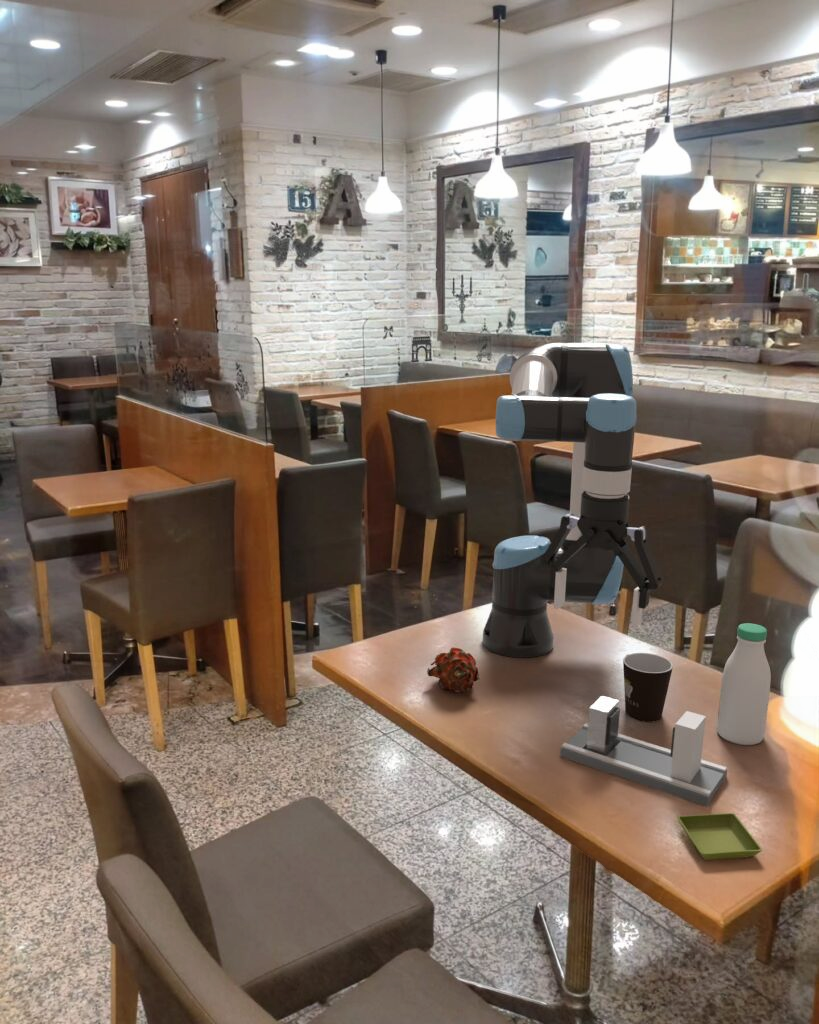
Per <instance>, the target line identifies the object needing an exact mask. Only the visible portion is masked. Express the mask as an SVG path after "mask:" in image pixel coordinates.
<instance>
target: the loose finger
mask: <svg viewBox="0 0 819 1024" xmlns="http://www.w3.org/2000/svg"><path fill="white" fill-rule="evenodd" d="M619 704H620V700H619V699H615V698H611V697H609V696H604V695H601V696H599V698H598V699H597V700H596V701H595V702H594V703H593V704H592V705H590V707H588V709H589V710H588V712H589V713H588V723H587V724H588V736H587V750H589V751H592V752H595V753H598V754H601V755H604V756H607V755H608V754H609V753H610V752H611V751H612V750H613V749H614V748H615V744H616V737H617V736H618V734H619V726H620V715H621V714H620V713H621V708H620V706H619Z"/></svg>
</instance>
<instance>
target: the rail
mask: <svg viewBox="0 0 819 1024" xmlns="http://www.w3.org/2000/svg"><path fill="white" fill-rule="evenodd" d="M706 717H707V716H706V715H702V714H699V713H697V712H696V713H695V712H693V711H692V712H691V711H689V710H686V711H685V712H684V713H683V715H681V717H680V718H679V719H678V720H677V722H675V725H674V726H672V733H671V734H672V737H671V747H670V749H669V748H666V747H664V746H663V747H662V746H660V745H656V744H654V743H650V742H647V741H644V740H642V739H641V740H640V739H639V738H638V739H637V738H635V737H631V736H628V735H625V734H621V733H618V736H617V737H616V744H615V748H614V749H613V750H612V751H611V752H610V753H609V754H608V755H607V756H604V755H601V754H598V753H595V752H592V751H589V750H587V736H588V723H585V722H584V724H583V725H582V728H580V730H579V731H577V732H576V733H575V734H574V735H573V736H571V738H570V739H569V740H568V741H566V742H563V743H562V744H561V748H560V754H559V757H561V758H563V759H567V760H570V761H571V762H572V761H573V762H576V763H579V764H581V765H584V766H587V767H590V768H593V769H596V770H598V771H602V772H604V773H608V774H611V775H614V776H617V777H620V778H622V779H625V780H628V781H630V782H634V783H636V784H640V785H642V786H645V787H648V788H651V789H655V790H658V791H661V792H663V793H666V794H669V795H673V796H675V797H678V798H681V799H683V800H687V801H689V802H692V803H695V804H698V805H701V806H704V807H708V805H709V804H710V802H711V801H712V800H713V798H714V796H715V795H716V794H717V792H718V791H719V789H720V787H721V786H722V784H723V783H724V781H725V780H726V779H727V775H728V768H727V766H725V765H724V766H723V765H720V764H717V763H715V762H710V761H707V760H705V759H702V758H703V756H702V755H703V747H704V736H705V728H706V727H705V726H706V721H707V720H706V719H707V718H706Z"/></svg>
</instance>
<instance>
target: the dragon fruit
mask: <svg viewBox="0 0 819 1024" xmlns="http://www.w3.org/2000/svg"><path fill="white" fill-rule="evenodd" d="M433 659H434V661H433V662H432V663H431V664H430V666H433V665H434V664H435V666H433V667H432V668H430V667H429V668H427V669H426V672H427V673H426V674H427V676H429V677H435V678H436V679H437V678H438V683H437V686H439V687H440V688H442V689H443V690H445V689H447V690H448V689H449V690H450V691H451V692H455V693H463V692H464V691H466V692H468V691H470V690H472V689H473V686H474V682H477V681H479V680H481V679H480V674H479V668H478V667H477V662H476V659H475V658H474V657H473V655H472V654H471V653H469V652H468V653H466V651H464V650H463V649H461V648H458V647H454V646H453V647H451V648H450V649H449V652H440V653H439V654H437V655H436V657H434V658H433ZM433 659H432V660H433ZM432 660H431V661H432Z"/></svg>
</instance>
